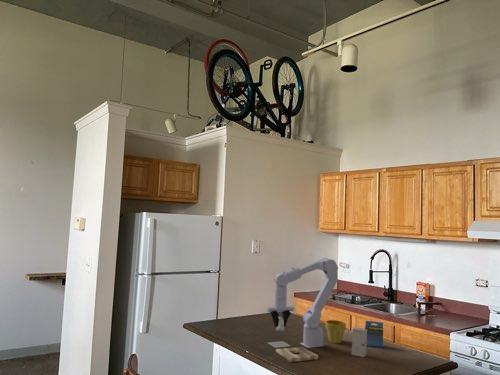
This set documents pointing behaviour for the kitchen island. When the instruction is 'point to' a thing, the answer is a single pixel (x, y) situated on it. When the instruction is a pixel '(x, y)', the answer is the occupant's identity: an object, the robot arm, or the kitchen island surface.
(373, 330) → the label tape box
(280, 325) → the steel peg
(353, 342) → the skincare box
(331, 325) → the plant pot
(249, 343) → the kitchen island surface
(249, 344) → the kitchen island surface
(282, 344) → the pad
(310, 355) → the hole plate
